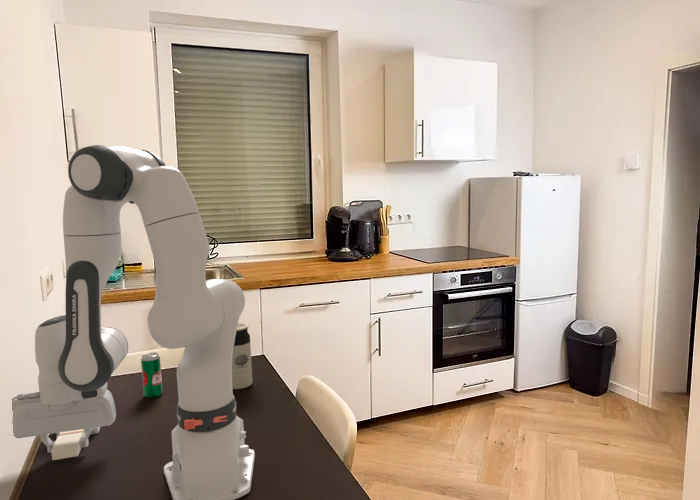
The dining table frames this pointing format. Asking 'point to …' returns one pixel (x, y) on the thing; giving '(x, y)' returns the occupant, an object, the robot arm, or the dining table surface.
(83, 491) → the dining table surface
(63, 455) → the ticket
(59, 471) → the dining table surface
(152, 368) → the soda can
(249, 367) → the white bottle
